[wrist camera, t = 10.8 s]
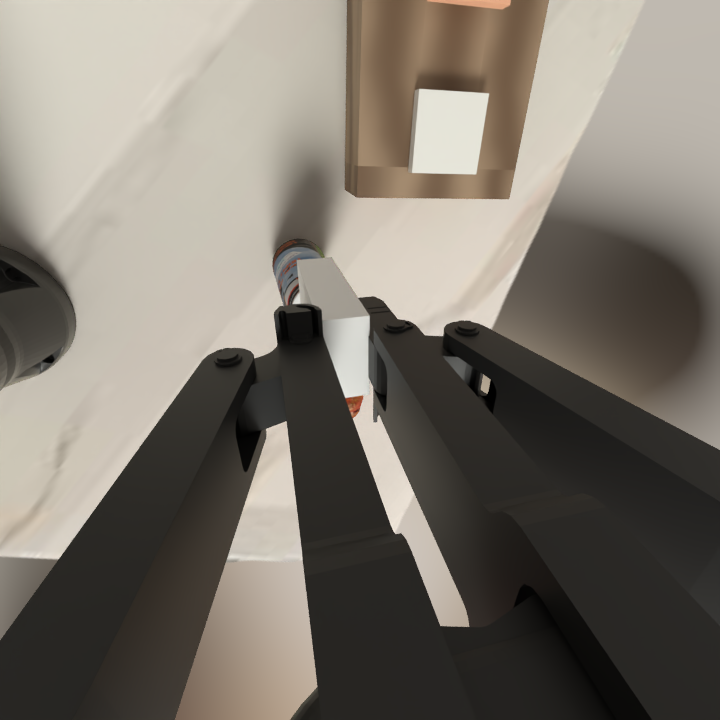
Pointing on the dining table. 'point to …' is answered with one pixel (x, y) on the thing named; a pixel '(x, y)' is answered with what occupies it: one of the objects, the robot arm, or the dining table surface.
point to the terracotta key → (478, 3)
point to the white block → (446, 131)
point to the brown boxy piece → (435, 72)
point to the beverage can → (292, 267)
